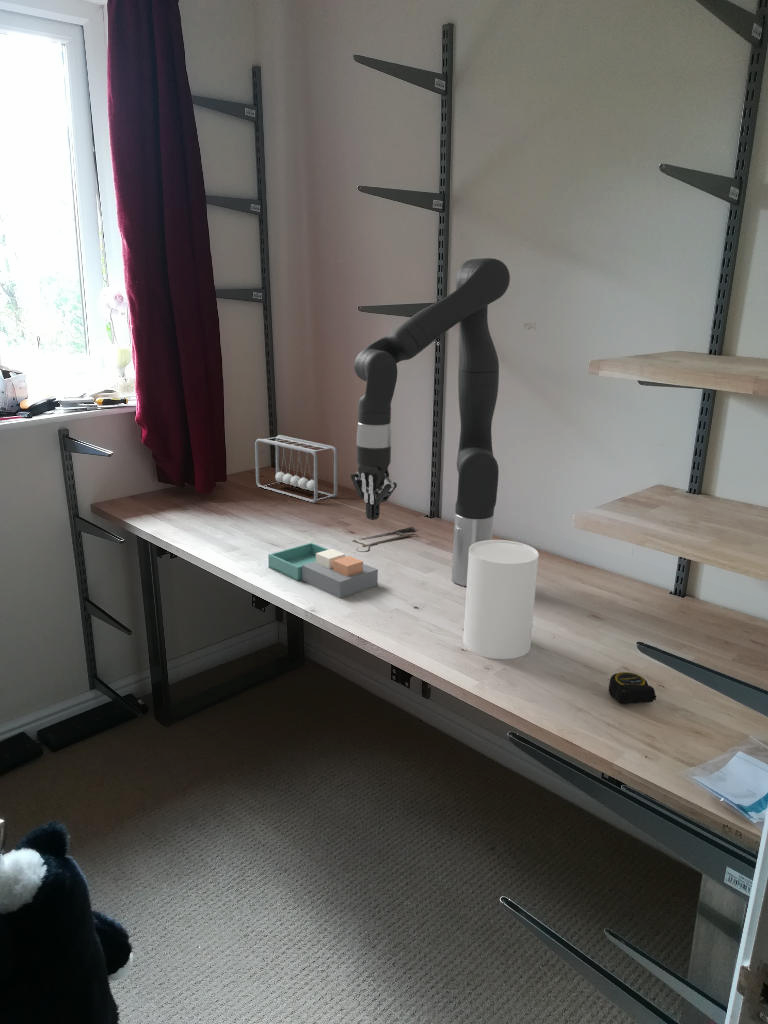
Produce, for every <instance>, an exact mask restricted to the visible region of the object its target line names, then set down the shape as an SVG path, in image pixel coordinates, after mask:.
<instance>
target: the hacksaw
mask: <svg viewBox="0 0 768 1024" xmlns="http://www.w3.org/2000/svg"><path fill="white" fill-rule="evenodd" d="M415 530H417V529H416V528H415V527H414V526H409V527H405V528H401V529H397V530H394V531H390V532H386V533H381V534H377V535H372V536H367V537H362V538H359V539H358V540H359V541H365V540H370V539H371V540H372V539H374V538H380V537H384V536H389V535H398V536H394V537H392V538H387V539H383V540H382V539H381V540H380V541H376V542H372V543H368V544H365V543H364V542H359V541H357V540H355V539H352V543H356V544H360V545H362V548H366V547H367V549H368V550H363V551H361V550H358V549H359V548H358V547H357V548H356V551H357V552H360V553H367V552H369V551H370V549H371V547H375V546H378V545H379V544H383V543H387V542H392V541H396V540H401V539H405V538H410V537H411V536H415V538H416V537H418V536H419V535H418V534H416V533H412V532H415ZM409 532H410V533H409Z"/></svg>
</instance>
